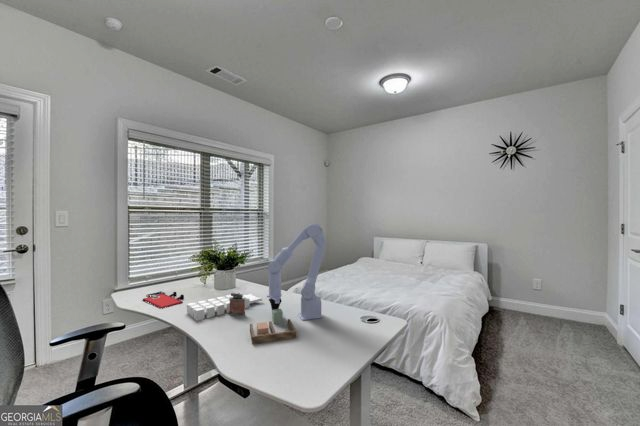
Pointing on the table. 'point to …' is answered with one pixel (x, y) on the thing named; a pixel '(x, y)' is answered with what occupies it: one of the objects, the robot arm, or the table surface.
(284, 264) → the robot arm
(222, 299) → the organizer
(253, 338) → the rack
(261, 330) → the terracotta block
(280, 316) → the sage block
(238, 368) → the table surface
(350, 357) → the table surface
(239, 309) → the red printed tin
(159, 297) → the red board with handle
